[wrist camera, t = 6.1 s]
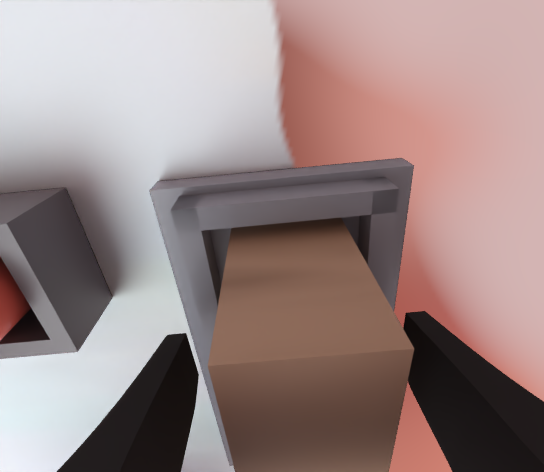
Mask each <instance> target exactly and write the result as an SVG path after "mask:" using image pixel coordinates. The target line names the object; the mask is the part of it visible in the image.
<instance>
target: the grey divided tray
mask: <svg viewBox="0 0 544 472" xmlns="http://www.w3.org/2000/svg"><path fill="white" fill-rule="evenodd" d="M413 169H414V165H412V164H411V163H409V162H408V161H406V160H404V159H402V158H397V159H387V160H386V159H385V160H376V161H365V162H355V163H344V164H335V165H334V164H333V165H323V166H313V167H302V168H292V169H281V170H271V171H261V172H250V173H240V174H229V175H219V176H208V177H198V178H188V179H177V180H167V181H158V182H157V183H156V184H155V185H154V186H153V187H152V188H151V189H150V195H151V198H152V202H153V205H154V208H155V212H156V215H157V219H158V222H159V225H160V229H161V232H162V236H163V239H164V243H165V246H166V249H167V253H168V256H169V260H170V263H171V267H172V270H173V273H174V277H175V280H176V284H177V287H178V290H179V294H180V297H181V301H182V304H183V308H184V311H185V314H186V318H187V321H188V325H189V328H190V331H191V335H192V338H193V342H194V345H195V349H196V352H197V355H198V359H199V362H200V366H201V369H202V373H203V376H204V379H205V383H206V386H207V390H208V393H209V396H210V400H211V403H212V407H213V410H214V414H215V417H216V420H217V424H218V427H219V431H220V434H221V437H222V441H223V444H224V448H225V451H226V455H227V458H228V461H229V465H233V461H232V458H231V454H230V450H229V446H228V442H227V438H226V435H225V431H224V427H223V423H222V419H221V415H220V412H219V408H218V404H217V400H216V396H215V392H214V389H213V385H212V381H211V377H210V373H209V369H208V361H209V355H210V350H211V344H212V338H213V332H214V326H215V320H216V315H217V309H218V303H219V297H220V291H221V285H222V280H223V274H224V268H225V262H226V256H227V250H228V245H229V239H230V233H231V228H235V227H246V226H257V225H267V224H278V223H288V222H299V221H309V220H320V219H330V218H342V220H343V222H344V224H345V226H346V227H347V229H348V231H349V233H350V234H351V236H352V238H353V240H354V242H355V243H356V245H357V247H358V249H359V251H360V252H361V254H362V256H363V258H364V260H365V261H366V263H367V265H368V267H369V268H370V270H371V272H372V274H373V276H374V277H375V279H376V281H377V283H378V285H379V286H380V288H381V290H382V292H383V294H384V295H385V297H386V299H387V301H388V303H389V304H390V306H391V308H392V310H393V311H394V308H395V301H396V293H397V286H398V279H399V271H400V264H401V257H402V249H403V242H404V235H405V227H406V220H407V213H408V205H409V198H410V191H411V183H412V175H413Z"/></svg>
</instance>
